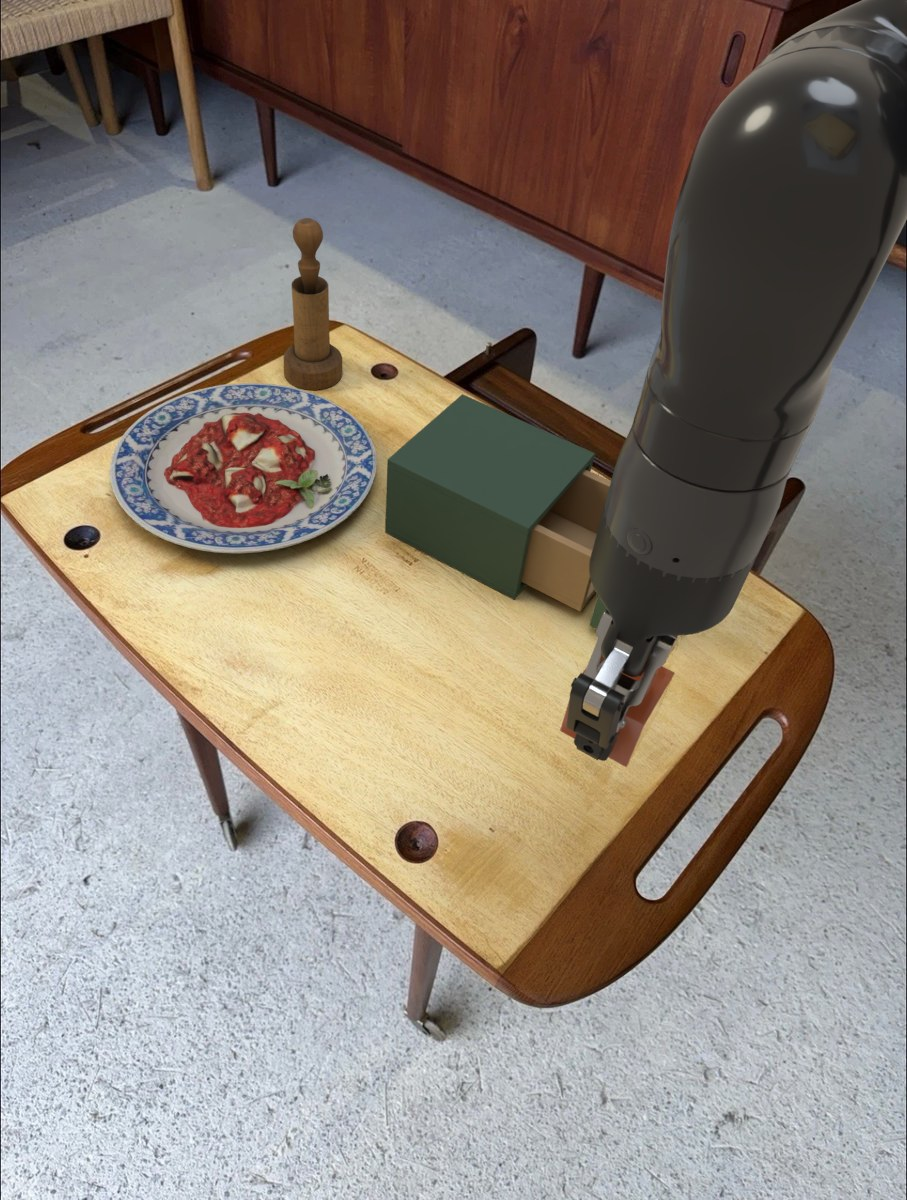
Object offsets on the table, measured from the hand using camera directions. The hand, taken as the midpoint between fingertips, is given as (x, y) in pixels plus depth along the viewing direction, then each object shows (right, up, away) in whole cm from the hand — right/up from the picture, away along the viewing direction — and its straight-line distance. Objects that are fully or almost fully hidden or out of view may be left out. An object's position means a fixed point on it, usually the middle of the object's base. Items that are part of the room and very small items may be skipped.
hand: (610, 719), depth 55 cm
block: (0, 0, 0) cm, 0 cm away
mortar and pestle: (-26, +33, +48) cm, 64 cm away
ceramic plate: (-30, +20, +36) cm, 51 cm away
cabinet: (-7, +14, +33) cm, 37 cm away
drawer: (+3, +10, +29) cm, 31 cm away
